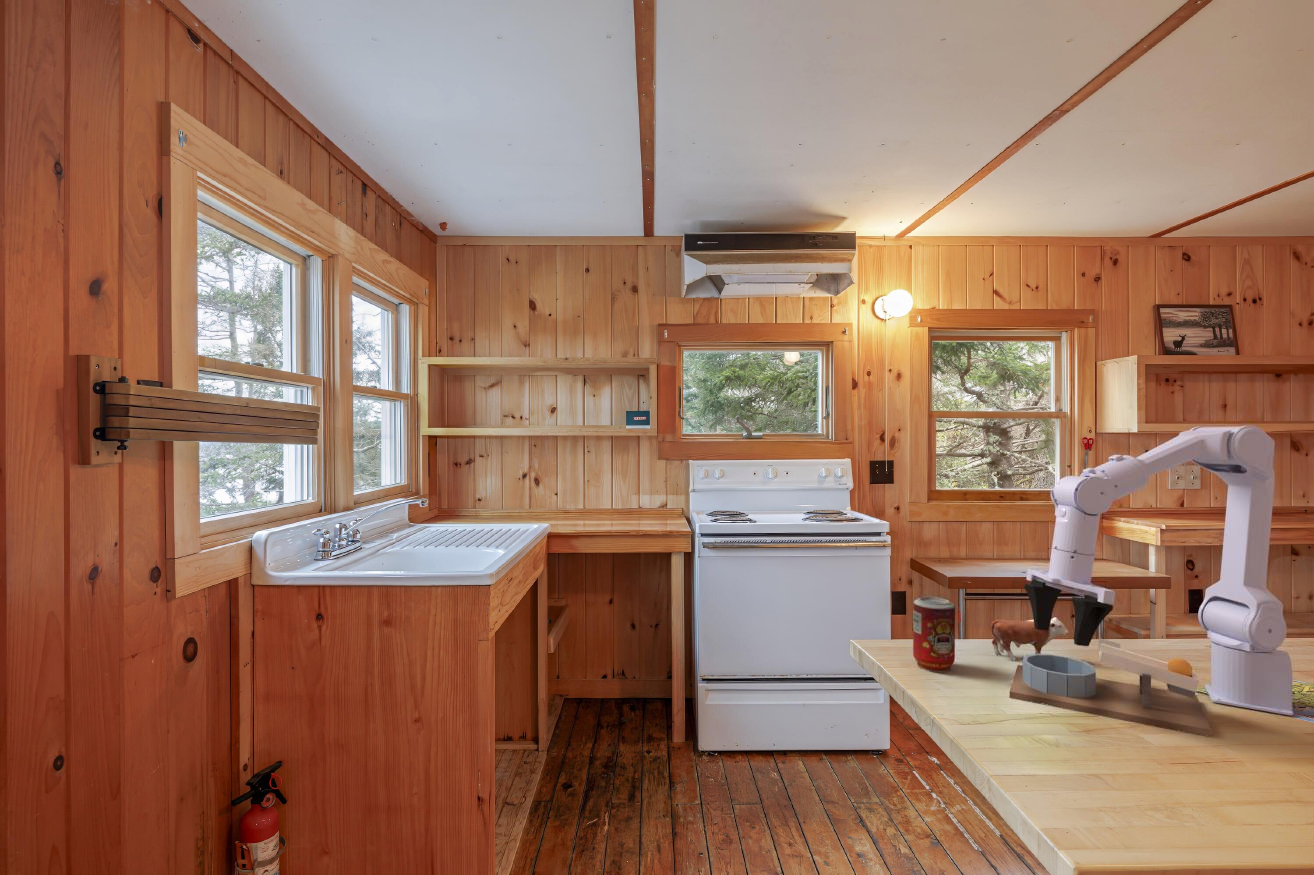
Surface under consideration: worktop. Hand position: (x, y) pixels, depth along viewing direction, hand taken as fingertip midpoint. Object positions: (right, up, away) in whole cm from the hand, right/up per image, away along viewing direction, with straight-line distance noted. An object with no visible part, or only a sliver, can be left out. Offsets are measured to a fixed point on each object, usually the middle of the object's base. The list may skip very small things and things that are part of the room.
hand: (1060, 637), depth 103 cm
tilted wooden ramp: (+14, -6, +2) cm, 16 cm away
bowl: (+3, -11, +5) cm, 12 cm away
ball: (+16, -4, -3) cm, 17 cm away
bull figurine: (+7, -11, +22) cm, 25 cm away
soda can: (-13, -11, +17) cm, 24 cm away
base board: (+8, -11, +2) cm, 13 cm away
